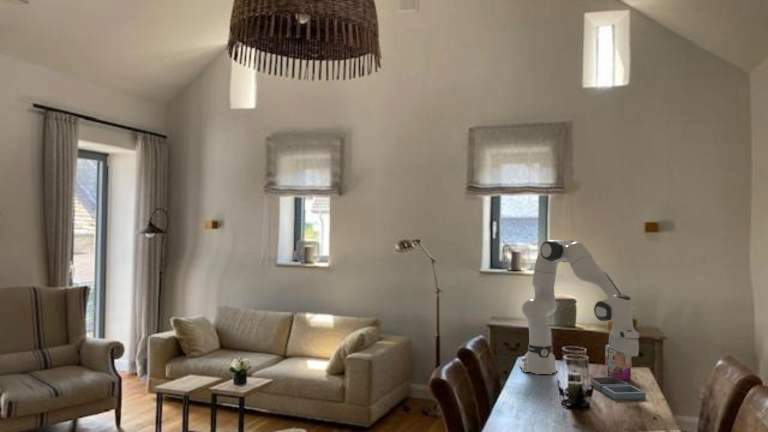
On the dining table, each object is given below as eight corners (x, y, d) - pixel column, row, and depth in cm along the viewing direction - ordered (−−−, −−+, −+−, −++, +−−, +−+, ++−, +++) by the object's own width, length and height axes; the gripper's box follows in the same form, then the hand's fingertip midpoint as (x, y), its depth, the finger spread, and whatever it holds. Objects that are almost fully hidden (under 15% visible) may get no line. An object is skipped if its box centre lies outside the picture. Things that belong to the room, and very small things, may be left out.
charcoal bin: (587, 383, 279) (586, 377, 279) (614, 382, 280) (614, 376, 280) (600, 391, 265) (600, 385, 265) (629, 390, 266) (629, 384, 266)
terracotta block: (615, 365, 261) (615, 354, 261) (625, 365, 261) (625, 354, 261) (620, 368, 256) (620, 356, 256) (631, 367, 256) (631, 356, 256)
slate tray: (602, 392, 264) (601, 386, 264) (631, 391, 265) (631, 385, 265) (614, 400, 252) (614, 393, 252) (645, 399, 253) (645, 392, 253)
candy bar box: (607, 380, 285) (607, 346, 286) (605, 377, 290) (604, 344, 291) (631, 380, 284) (631, 347, 285) (628, 378, 289) (627, 345, 289)
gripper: (604, 327, 269) (605, 357, 269) (627, 335, 249) (628, 367, 248) (617, 327, 270) (618, 357, 269) (641, 335, 249) (642, 367, 249)
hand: (623, 362), depth 259 cm, fingers closed on terracotta block, 5 cm apart
